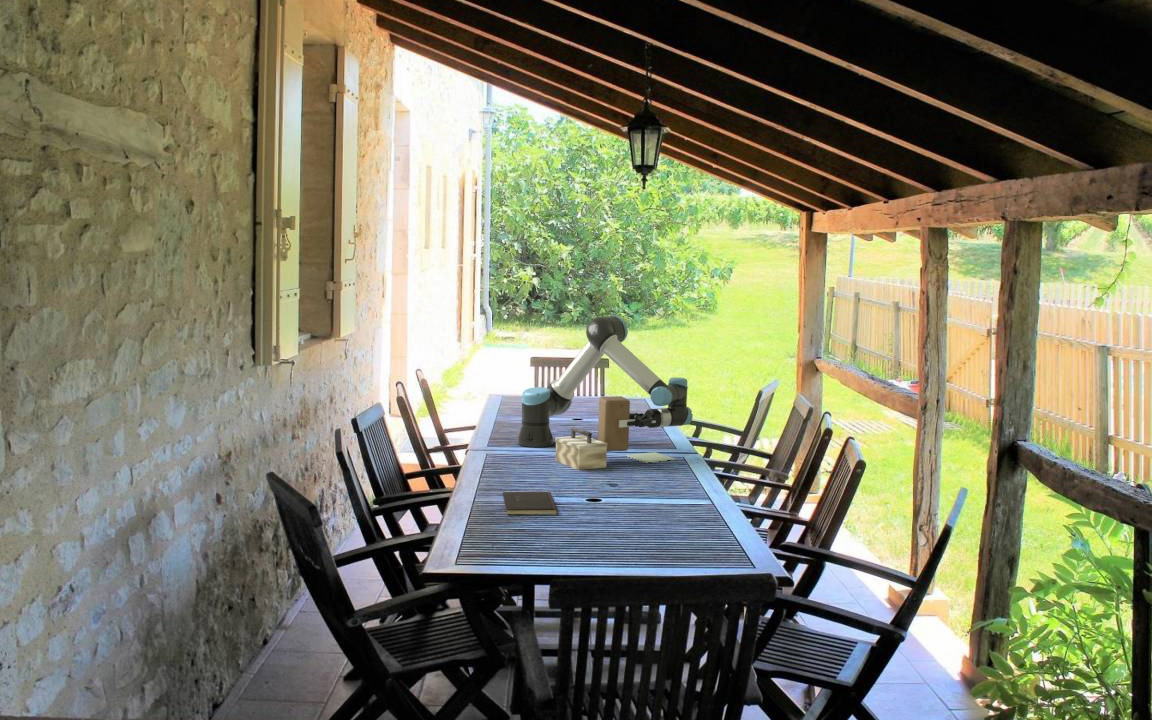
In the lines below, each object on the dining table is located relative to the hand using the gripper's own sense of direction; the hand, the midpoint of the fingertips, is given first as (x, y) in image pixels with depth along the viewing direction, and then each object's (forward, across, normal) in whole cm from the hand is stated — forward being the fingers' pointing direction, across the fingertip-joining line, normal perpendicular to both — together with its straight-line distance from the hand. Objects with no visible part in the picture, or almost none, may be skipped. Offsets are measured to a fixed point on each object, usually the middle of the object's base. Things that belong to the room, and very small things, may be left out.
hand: (610, 421), depth 390 cm
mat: (-19, -1, -16) cm, 25 cm away
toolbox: (+12, +1, -16) cm, 20 cm away
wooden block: (-2, 0, -11) cm, 11 cm away
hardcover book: (+59, -47, -17) cm, 77 cm away
